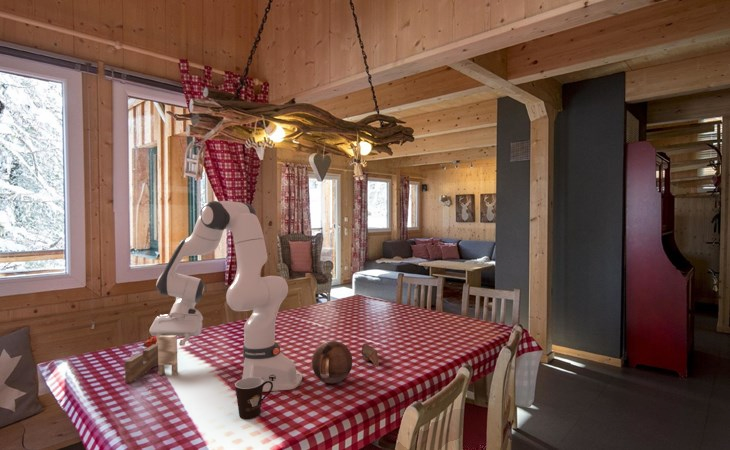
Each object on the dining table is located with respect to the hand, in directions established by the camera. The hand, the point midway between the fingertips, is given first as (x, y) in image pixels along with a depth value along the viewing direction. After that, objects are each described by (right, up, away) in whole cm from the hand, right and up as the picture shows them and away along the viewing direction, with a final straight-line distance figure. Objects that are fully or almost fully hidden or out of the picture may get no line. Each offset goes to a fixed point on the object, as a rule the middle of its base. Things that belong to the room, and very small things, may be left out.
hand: (170, 345), depth 162 cm
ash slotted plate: (0, -11, -2) cm, 11 cm away
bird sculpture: (+80, -10, +9) cm, 81 cm away
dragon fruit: (-18, -11, +26) cm, 33 cm away
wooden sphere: (+66, -11, -11) cm, 68 cm away
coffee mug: (+43, -11, -35) cm, 57 cm away
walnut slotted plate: (-11, -11, +1) cm, 15 cm away
